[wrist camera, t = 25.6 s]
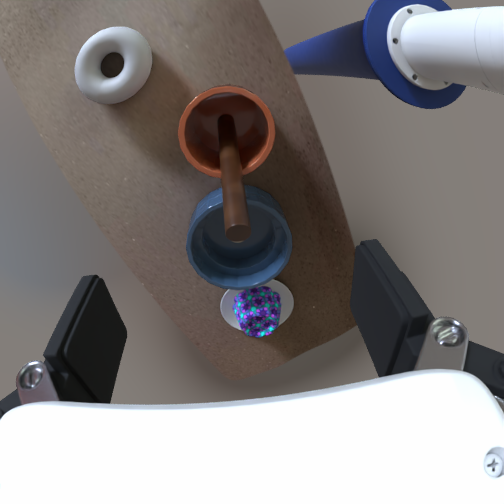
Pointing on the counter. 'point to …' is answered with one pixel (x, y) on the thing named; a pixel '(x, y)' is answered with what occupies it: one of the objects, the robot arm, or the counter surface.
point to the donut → (131, 75)
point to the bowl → (243, 253)
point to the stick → (232, 182)
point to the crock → (206, 128)
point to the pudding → (258, 308)
